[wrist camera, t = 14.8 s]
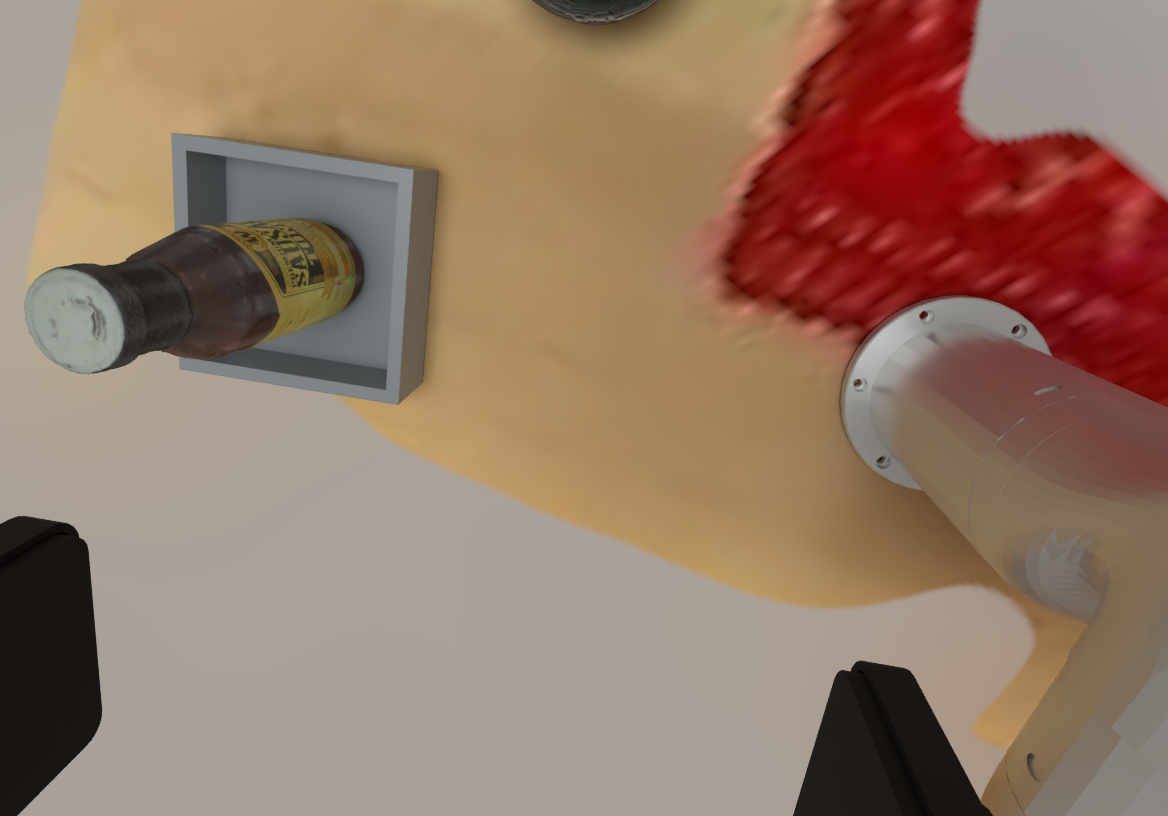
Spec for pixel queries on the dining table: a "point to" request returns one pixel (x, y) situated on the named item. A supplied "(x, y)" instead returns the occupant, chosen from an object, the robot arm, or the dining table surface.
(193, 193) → the box
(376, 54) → the dining table surface
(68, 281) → the sauce bottle
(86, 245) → the dining table surface
